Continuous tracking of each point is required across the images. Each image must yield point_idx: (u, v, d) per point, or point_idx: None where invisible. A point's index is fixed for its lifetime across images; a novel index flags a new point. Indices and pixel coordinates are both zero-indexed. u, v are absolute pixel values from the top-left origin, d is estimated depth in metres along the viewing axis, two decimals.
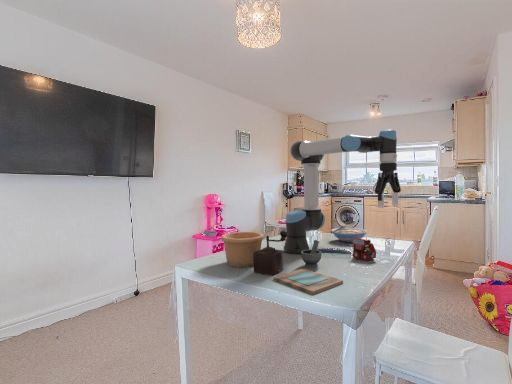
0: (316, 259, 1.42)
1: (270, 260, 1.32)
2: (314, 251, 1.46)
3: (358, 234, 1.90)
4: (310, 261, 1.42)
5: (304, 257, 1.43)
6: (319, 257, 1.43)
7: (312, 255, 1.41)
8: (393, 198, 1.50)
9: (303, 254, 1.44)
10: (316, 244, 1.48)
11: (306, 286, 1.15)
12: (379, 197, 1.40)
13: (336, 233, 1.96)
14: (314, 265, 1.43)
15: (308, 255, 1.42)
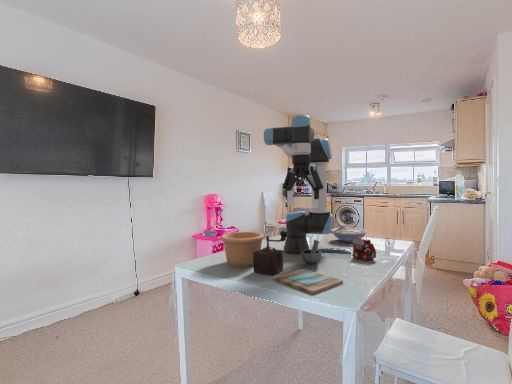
0: (316, 259, 1.42)
1: (270, 260, 1.32)
2: (314, 251, 1.46)
3: (358, 234, 1.90)
4: (310, 261, 1.42)
5: (304, 257, 1.43)
6: (319, 257, 1.43)
7: (312, 255, 1.41)
8: None
9: (303, 254, 1.44)
10: (316, 244, 1.48)
11: (306, 286, 1.15)
12: None
13: (336, 233, 1.96)
14: (314, 265, 1.43)
15: (308, 255, 1.42)
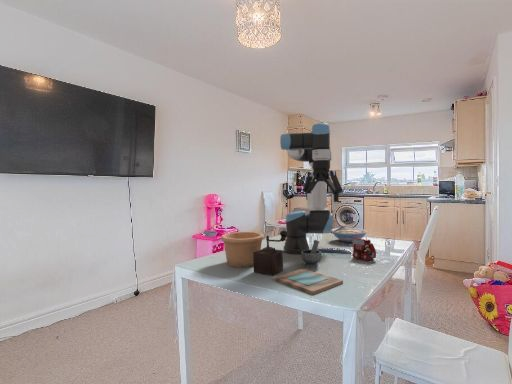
0: (316, 259, 1.42)
1: (270, 260, 1.32)
2: (314, 251, 1.46)
3: (358, 234, 1.90)
4: (310, 261, 1.42)
5: (304, 257, 1.43)
6: (319, 257, 1.43)
7: (312, 255, 1.41)
8: None
9: (303, 254, 1.44)
10: (316, 244, 1.48)
11: (306, 286, 1.15)
12: None
13: (336, 233, 1.96)
14: (314, 265, 1.43)
15: (308, 255, 1.42)
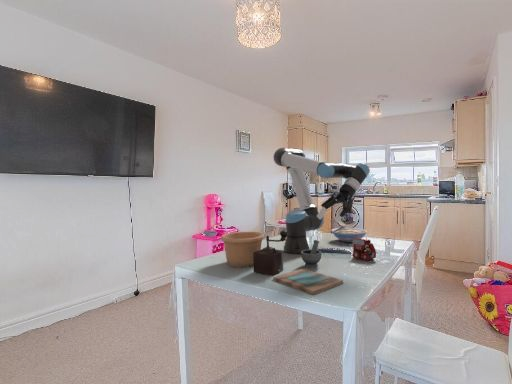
0: (316, 259, 1.42)
1: (270, 260, 1.32)
2: (314, 251, 1.46)
3: (358, 234, 1.90)
4: (310, 261, 1.42)
5: (304, 257, 1.43)
6: (319, 257, 1.43)
7: (312, 255, 1.41)
8: None
9: (303, 254, 1.44)
10: (316, 244, 1.48)
11: (306, 286, 1.15)
12: None
13: (336, 233, 1.96)
14: (314, 265, 1.43)
15: (308, 255, 1.42)
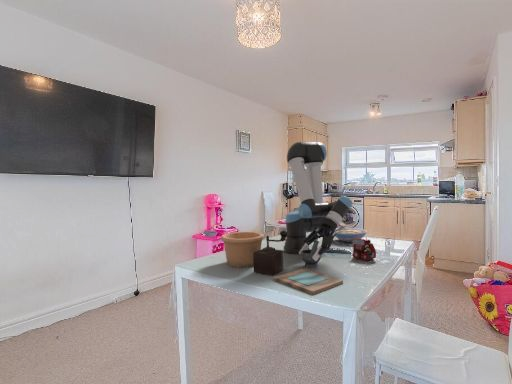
0: None
1: (270, 260, 1.32)
2: (314, 251, 1.46)
3: (358, 234, 1.90)
4: (310, 261, 1.42)
5: (304, 257, 1.43)
6: (319, 257, 1.43)
7: (312, 255, 1.41)
8: None
9: (303, 254, 1.44)
10: (316, 244, 1.48)
11: (306, 286, 1.15)
12: None
13: (336, 233, 1.96)
14: (314, 265, 1.43)
15: (308, 255, 1.42)
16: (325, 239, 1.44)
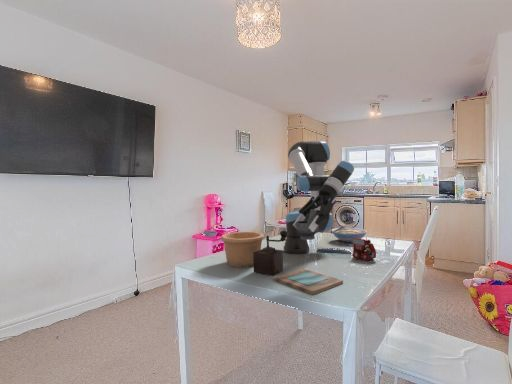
0: None
1: (270, 260, 1.32)
2: (311, 221, 1.27)
3: (358, 234, 1.90)
4: (306, 232, 1.23)
5: (299, 227, 1.24)
6: (316, 227, 1.24)
7: (308, 225, 1.22)
8: None
9: (298, 224, 1.24)
10: (313, 214, 1.29)
11: (306, 286, 1.15)
12: None
13: (336, 233, 1.96)
14: (311, 237, 1.24)
15: (303, 225, 1.23)
16: (323, 207, 1.25)
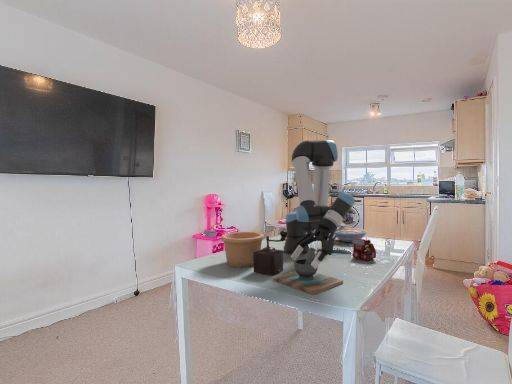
0: (312, 271, 1.19)
1: (270, 260, 1.32)
2: (309, 261, 1.24)
3: (358, 234, 1.90)
4: (304, 273, 1.19)
5: (297, 268, 1.21)
6: None
7: (307, 266, 1.19)
8: None
9: (296, 265, 1.21)
10: (312, 253, 1.25)
11: (306, 286, 1.15)
12: None
13: (336, 233, 1.96)
14: (309, 278, 1.21)
15: (302, 266, 1.19)
16: (325, 242, 1.21)
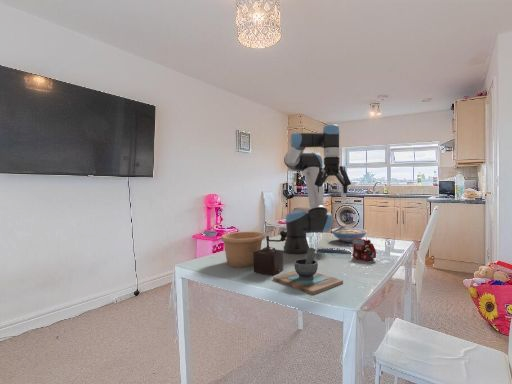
0: (311, 271, 1.19)
1: (270, 260, 1.32)
2: (309, 261, 1.24)
3: (358, 234, 1.90)
4: (304, 273, 1.19)
5: (297, 268, 1.21)
6: (315, 268, 1.20)
7: (307, 266, 1.19)
8: None
9: (296, 265, 1.21)
10: (312, 253, 1.25)
11: (306, 286, 1.15)
12: None
13: (336, 233, 1.96)
14: (309, 278, 1.21)
15: (302, 266, 1.19)
16: (339, 177, 1.44)
